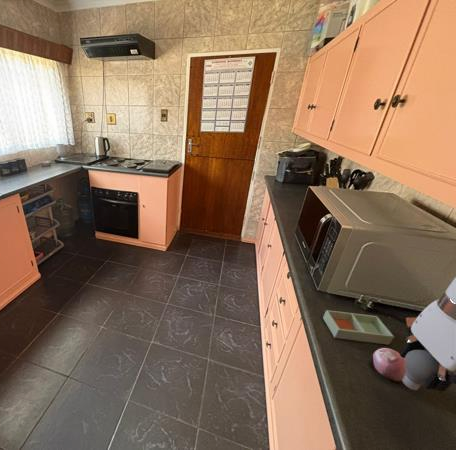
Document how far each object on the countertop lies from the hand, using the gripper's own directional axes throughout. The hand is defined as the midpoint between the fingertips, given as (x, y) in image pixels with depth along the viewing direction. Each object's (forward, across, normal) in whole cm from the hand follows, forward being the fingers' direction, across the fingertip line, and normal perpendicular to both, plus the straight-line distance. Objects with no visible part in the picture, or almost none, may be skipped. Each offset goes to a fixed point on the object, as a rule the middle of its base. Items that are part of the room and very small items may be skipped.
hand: (420, 371), depth 53 cm
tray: (+15, +23, -4) cm, 28 cm away
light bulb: (+5, 0, 0) cm, 5 cm away
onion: (+15, +10, -5) cm, 18 cm away
